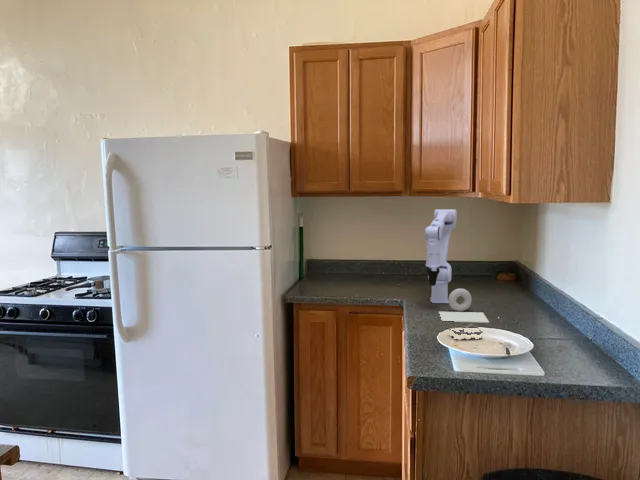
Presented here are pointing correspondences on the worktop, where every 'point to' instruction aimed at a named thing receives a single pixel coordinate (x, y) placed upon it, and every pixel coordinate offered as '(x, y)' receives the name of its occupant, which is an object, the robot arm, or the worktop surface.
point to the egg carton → (467, 332)
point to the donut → (466, 301)
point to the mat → (464, 317)
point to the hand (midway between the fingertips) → (432, 285)
